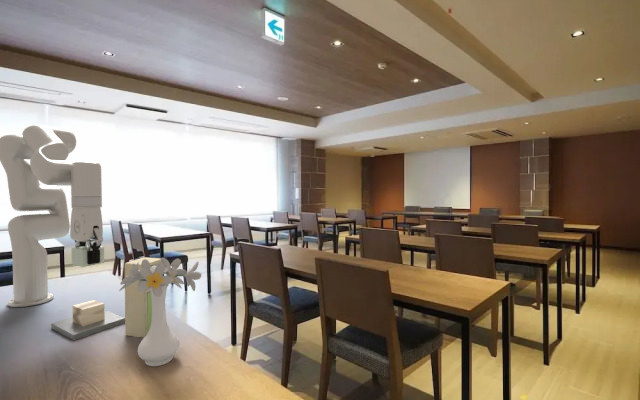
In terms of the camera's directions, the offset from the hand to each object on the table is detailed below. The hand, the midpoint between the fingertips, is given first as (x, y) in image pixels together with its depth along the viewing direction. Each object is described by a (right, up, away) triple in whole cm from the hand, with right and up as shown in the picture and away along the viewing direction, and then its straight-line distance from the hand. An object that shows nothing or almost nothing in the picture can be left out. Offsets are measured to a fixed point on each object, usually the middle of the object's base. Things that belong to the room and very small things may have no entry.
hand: (88, 261), depth 101 cm
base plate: (0, -20, +1) cm, 20 cm away
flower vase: (+31, -21, -18) cm, 41 cm away
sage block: (0, -1, 0) cm, 1 cm away
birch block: (0, -18, +1) cm, 18 cm away
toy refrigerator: (+19, -20, -3) cm, 28 cm away
